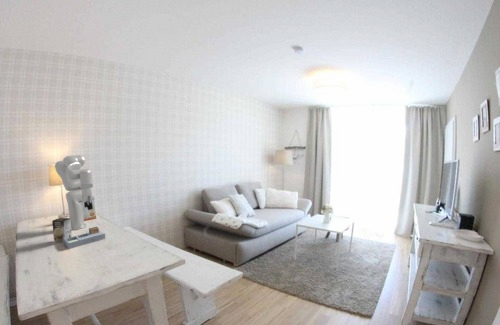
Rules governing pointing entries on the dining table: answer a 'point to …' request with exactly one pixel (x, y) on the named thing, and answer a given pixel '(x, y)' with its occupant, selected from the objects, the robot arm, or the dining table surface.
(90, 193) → the robot arm
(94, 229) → the block
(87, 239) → the tray
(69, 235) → the coffee box
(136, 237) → the dining table surface
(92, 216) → the white glue bottle
